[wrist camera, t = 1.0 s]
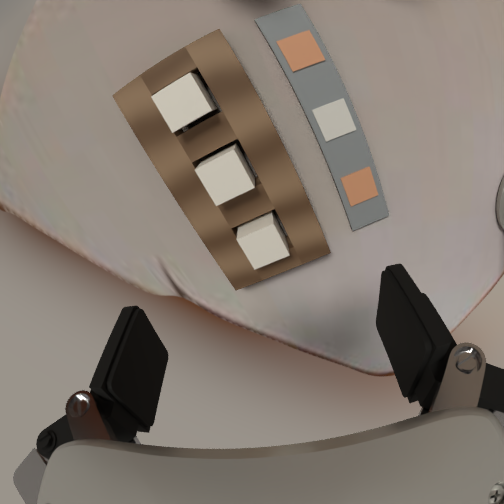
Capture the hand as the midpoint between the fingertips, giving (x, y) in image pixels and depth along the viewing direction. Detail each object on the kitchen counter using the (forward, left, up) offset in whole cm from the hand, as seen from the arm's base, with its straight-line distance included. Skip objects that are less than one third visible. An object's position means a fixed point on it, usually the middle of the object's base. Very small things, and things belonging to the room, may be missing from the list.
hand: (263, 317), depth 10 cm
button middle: (+1, +3, -20) cm, 21 cm away
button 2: (-7, +3, -20) cm, 22 cm away
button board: (+1, +3, -22) cm, 22 cm away
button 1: (+9, +3, -20) cm, 23 cm away
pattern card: (+1, -9, -22) cm, 24 cm away
